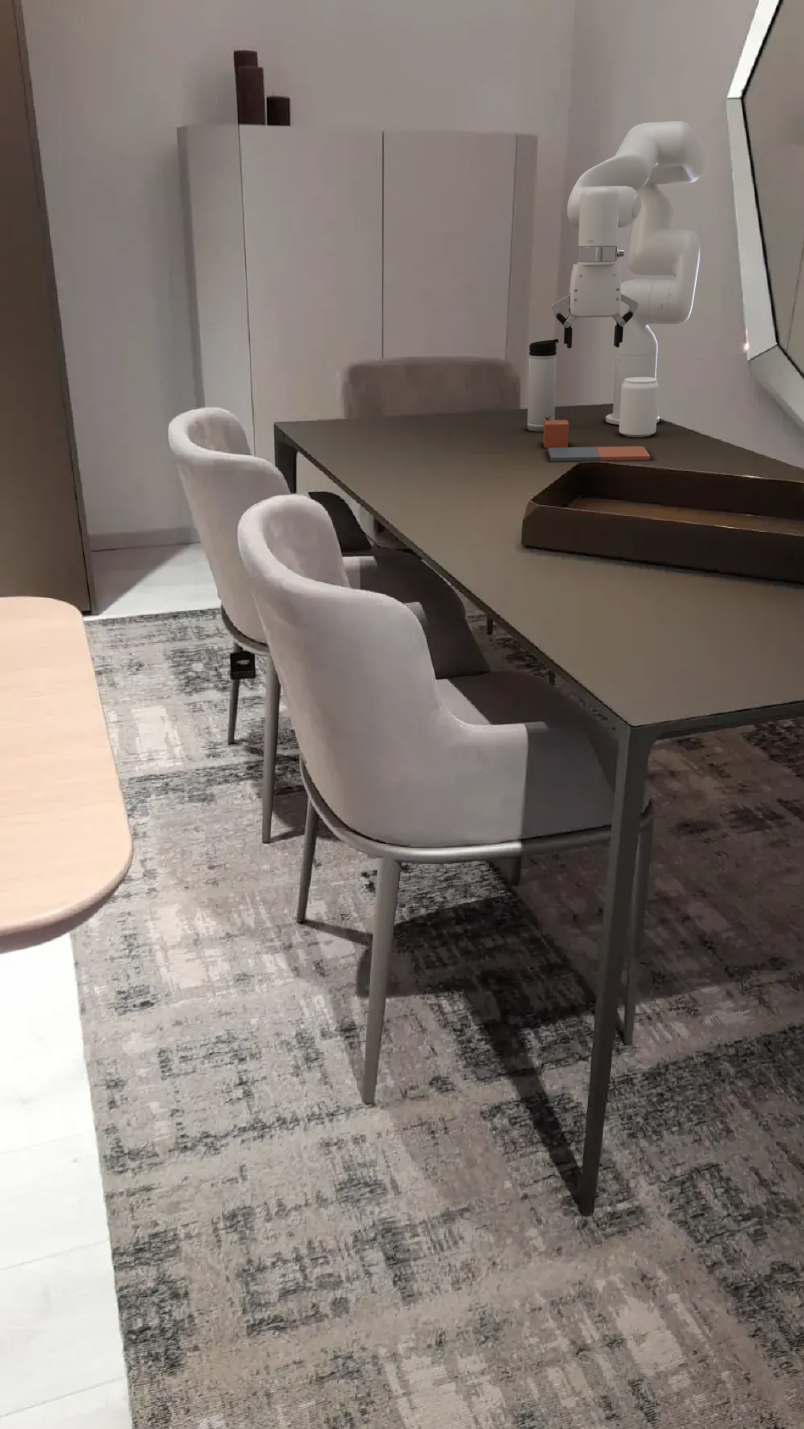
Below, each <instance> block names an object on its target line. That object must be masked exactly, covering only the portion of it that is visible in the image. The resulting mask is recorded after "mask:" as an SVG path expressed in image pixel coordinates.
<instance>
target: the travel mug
mask: <svg viewBox="0 0 804 1429" xmlns="http://www.w3.org/2000/svg"><path fill="white" fill-rule="evenodd" d="M557 344H559V339H558V338H554V339H546V340H539V341H534V342H531V343H530V344H529V346H528V348H529V349H528V351H529V352H528V374H527V375H528V376H527V377H528V378H527V381H528V382H527V425H526V429H527V430H528V431H530V432H535V433H537V432H538V433H542V432H543V433H544V420H556V419H555V417H556V414H555V413H556V388H557V387H556V385H557V384H556V383H557V356H558V355H557Z"/></svg>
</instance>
